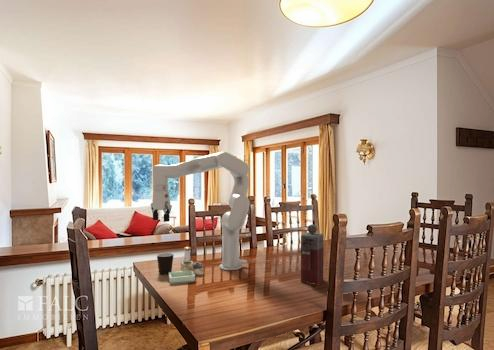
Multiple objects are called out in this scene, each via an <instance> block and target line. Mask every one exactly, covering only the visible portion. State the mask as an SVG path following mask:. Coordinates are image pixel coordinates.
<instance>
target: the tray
mask: <svg viewBox="0 0 494 350" xmlns="http://www.w3.org/2000/svg"><path fill="white" fill-rule="evenodd" d="M168 282H169V285H176V284H185V283H195V282H196V275H194V273H193V271H192V270H189V271H181V270H179V271H172V272H169V275H168Z"/></svg>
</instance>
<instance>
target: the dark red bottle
mask: <svg viewBox="0 0 494 350" xmlns="http://www.w3.org/2000/svg"><path fill="white" fill-rule="evenodd" d="M317 231H318V227H317V226H316V225H315V224H310V225H308V226H307V232H305V233H303V234H301V235H300V283H302V282H309V283H315V284H319V283H320V282H321V281H322V280H323V281H324V233H321V232H317ZM323 281H322V282H323ZM322 282H321V283H322ZM321 283H320V284H321ZM320 284H319V285H320Z"/></svg>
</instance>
